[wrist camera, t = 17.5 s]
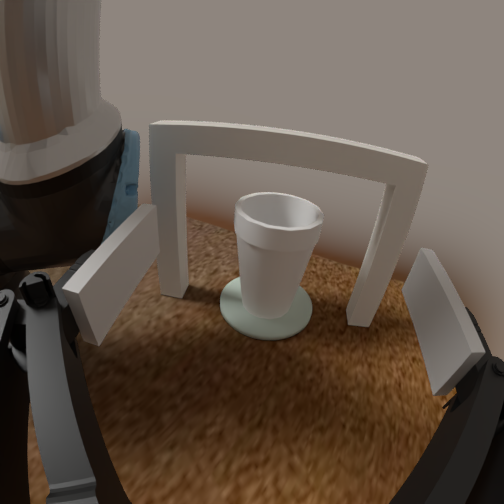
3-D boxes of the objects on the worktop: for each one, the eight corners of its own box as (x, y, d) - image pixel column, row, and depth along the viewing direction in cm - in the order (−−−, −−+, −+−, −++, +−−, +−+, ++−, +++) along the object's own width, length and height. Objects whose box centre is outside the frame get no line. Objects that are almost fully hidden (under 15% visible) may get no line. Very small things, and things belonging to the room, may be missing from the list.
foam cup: (217, 290, 39) (219, 198, 32) (273, 272, 43) (286, 188, 36) (256, 339, 32) (270, 239, 25) (316, 311, 37) (341, 220, 30)
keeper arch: (148, 316, 34) (126, 132, 22) (179, 263, 44) (177, 115, 33) (373, 353, 32) (447, 179, 20) (361, 291, 42) (404, 148, 30)
